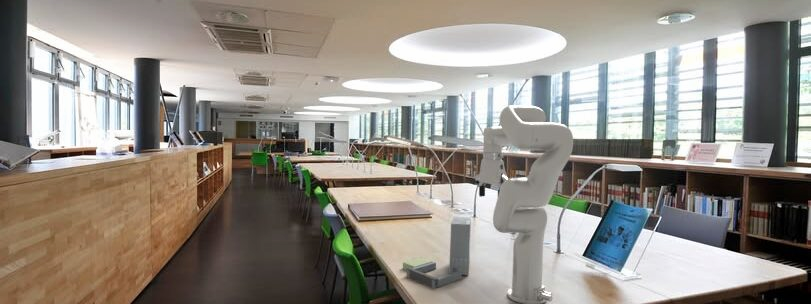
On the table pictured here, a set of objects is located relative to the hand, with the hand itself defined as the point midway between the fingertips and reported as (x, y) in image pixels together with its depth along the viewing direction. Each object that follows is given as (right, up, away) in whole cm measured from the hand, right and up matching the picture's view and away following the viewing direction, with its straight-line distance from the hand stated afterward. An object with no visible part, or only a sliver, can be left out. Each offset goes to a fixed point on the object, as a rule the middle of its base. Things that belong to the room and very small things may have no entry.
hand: (491, 197), depth 160 cm
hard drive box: (-14, -29, -5) cm, 32 cm away
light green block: (-31, -29, -5) cm, 42 cm away
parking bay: (-25, -29, -15) cm, 41 cm away
